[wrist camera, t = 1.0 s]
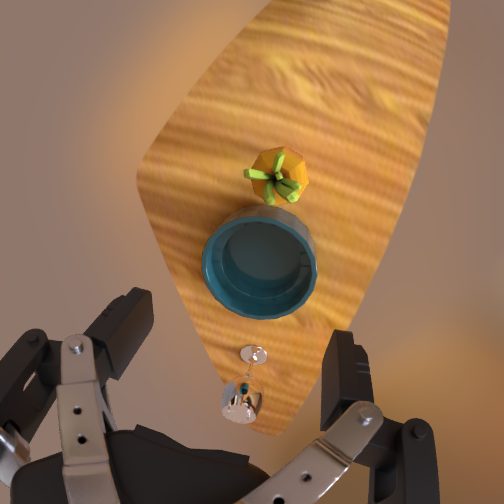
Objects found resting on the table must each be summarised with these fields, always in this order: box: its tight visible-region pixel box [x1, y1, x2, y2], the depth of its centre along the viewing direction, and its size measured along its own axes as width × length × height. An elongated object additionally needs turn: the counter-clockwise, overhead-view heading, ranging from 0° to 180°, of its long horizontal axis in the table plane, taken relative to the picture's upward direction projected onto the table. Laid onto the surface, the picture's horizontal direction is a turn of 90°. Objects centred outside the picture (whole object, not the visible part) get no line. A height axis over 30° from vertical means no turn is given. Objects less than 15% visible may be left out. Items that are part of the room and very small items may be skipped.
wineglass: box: [222, 345, 268, 423], centre depth 40 cm, size 6×6×12 cm
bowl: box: [202, 205, 317, 320], centre depth 36 cm, size 13×13×5 cm
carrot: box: [244, 146, 309, 206], centre depth 26 cm, size 5×5×15 cm
